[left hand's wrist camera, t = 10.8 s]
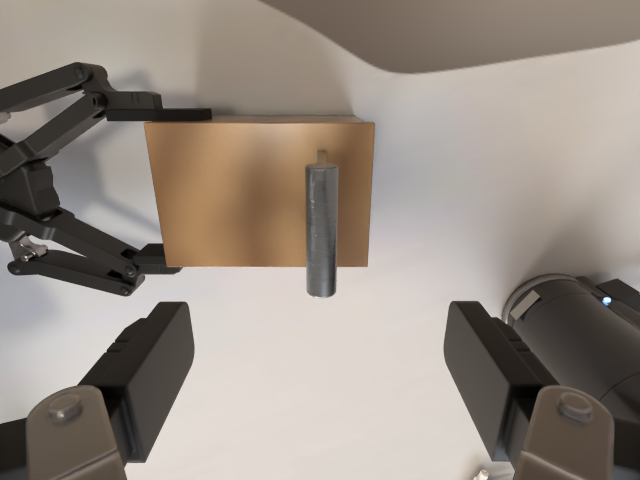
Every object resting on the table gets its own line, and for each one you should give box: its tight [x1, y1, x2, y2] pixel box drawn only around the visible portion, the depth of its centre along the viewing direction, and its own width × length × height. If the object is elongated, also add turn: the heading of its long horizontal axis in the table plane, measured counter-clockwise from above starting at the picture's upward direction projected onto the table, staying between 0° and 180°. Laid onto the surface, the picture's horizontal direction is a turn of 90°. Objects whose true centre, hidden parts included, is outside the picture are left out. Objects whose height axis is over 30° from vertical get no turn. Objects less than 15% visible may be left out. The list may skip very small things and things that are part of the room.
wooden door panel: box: [144, 122, 375, 298], centre depth 23 cm, size 15×10×8 cm
